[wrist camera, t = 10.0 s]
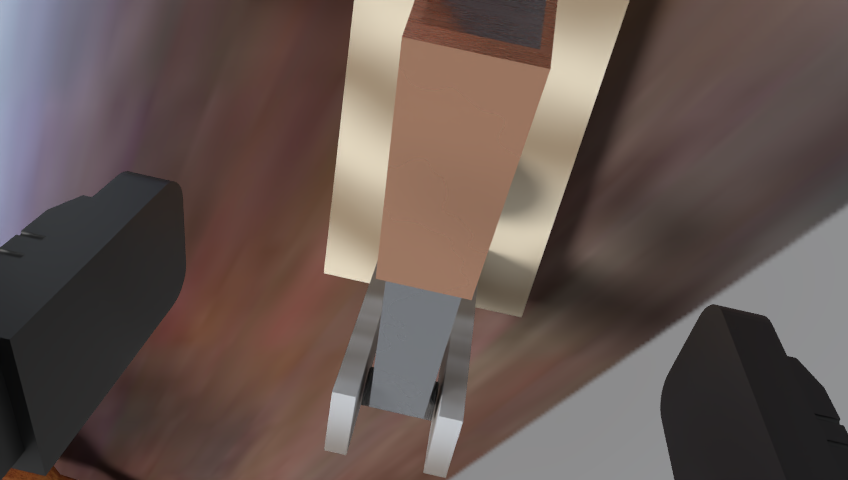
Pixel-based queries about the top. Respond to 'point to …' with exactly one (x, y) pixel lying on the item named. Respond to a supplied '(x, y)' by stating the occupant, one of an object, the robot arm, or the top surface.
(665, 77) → the top surface
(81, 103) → the top surface
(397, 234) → the lever
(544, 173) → the base
